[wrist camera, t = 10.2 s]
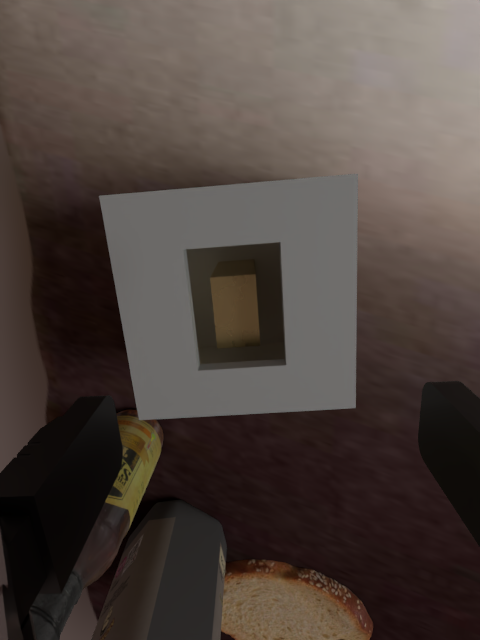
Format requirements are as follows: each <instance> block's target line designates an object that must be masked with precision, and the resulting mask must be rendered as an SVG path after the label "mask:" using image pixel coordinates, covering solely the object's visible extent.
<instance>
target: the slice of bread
mask: <svg viewBox="0 0 480 640" xmlns="http://www.w3.org/2000/svg"><path fill="white" fill-rule="evenodd" d="M372 630H373V622H372V620H371V618H370V617H369V615H368V613H367V611H366V608H365V607H364V605H363V603H362V602H361V600H360V599H359V598H358V597H357V596H356V595H355V594H354V593H353V592H351V591H350V590H349V589H348V588H347V587H346V586H344V585H342V584H340V583H338V582H337V581H335V580H334V579H331V578H329V577H327V576H325V575H323V574H321V573H318V572H316V571H314V570H312V569H307V568H299V567H294V566H292V565H290V564H287V563H284V562H276V561H271V560H253V559H249V560H239V561H232V562H227V563H226V565H225V579H224V594H223V608H222V622H221V631H222V632H224V633H226V634H229V635H231V636H232V637H233V638H234V639H235V640H369V639H370V637H371V634H372Z"/></svg>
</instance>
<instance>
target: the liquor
mask: <svg viewBox="0 0 480 640" xmlns="http://www.w3.org/2000/svg"><path fill="white" fill-rule="evenodd" d="M226 551H227V545H226V541H225V537H224V533H223V529H222V526H221V524H220V522H219V521H218V520H216V519H215V518H213V517H211V516H209V515H208V514H206V513H204V512H202V511H201V510H199V509H197V508H195V507H193V506H192V505H190V504H188V503H186V502H185V501H183V500H181V499H179V500H171V501H164V502H158V503H156V504H155V505H154V506H153V507H152V508H151V510H150V511H149V512H148V513H147V515H146V516H145V517H144V519H143V520H142V521H141V522H140V524H139V525H138V526H137V528H136V529H135V530H134V531H133V533H132V534H131V535H130V537H129V538H128V541H127V543H126V546H125V549H124V552H123V554H122V557H121V560H120V563H119V565H118V568H117V571H116V574H115V576H114V579H113V582H112V585H111V587H110V590H109V593H108V596H107V598H106V601H105V604H104V607H103V609H102V612H101V615H100V618H99V620H98V623H97V626H96V629H95V631H94V634H93V637H92V640H220V637H221V622H222V608H223V594H224V579H225V565H226Z"/></svg>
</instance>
